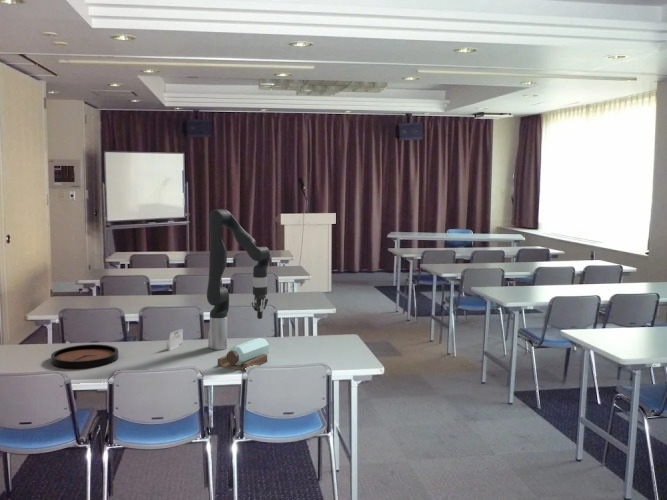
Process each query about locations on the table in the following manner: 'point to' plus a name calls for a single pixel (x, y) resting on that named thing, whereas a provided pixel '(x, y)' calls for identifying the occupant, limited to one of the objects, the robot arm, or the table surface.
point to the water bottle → (247, 351)
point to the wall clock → (84, 356)
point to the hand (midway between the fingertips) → (259, 318)
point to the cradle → (255, 361)
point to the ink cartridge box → (175, 340)
